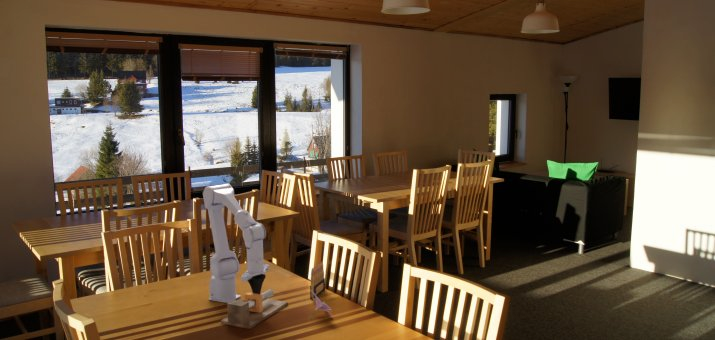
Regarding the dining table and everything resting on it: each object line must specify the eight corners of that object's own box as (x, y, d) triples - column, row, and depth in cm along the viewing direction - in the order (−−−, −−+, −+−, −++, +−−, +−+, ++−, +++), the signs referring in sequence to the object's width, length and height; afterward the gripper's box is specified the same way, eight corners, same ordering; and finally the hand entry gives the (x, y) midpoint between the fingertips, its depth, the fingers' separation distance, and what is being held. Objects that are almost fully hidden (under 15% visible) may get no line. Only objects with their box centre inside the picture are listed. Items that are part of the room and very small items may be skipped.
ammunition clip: (314, 299, 226) (313, 269, 225) (310, 298, 227) (309, 268, 225) (325, 290, 236) (324, 261, 235) (321, 289, 237) (320, 260, 235)
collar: (245, 310, 212) (244, 294, 212) (248, 308, 214) (248, 292, 213) (259, 312, 210) (258, 296, 209) (262, 310, 212) (262, 294, 211)
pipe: (238, 312, 206) (238, 305, 206) (268, 295, 222) (267, 288, 222) (245, 313, 205) (244, 306, 205) (273, 296, 221) (273, 289, 221)
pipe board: (221, 323, 205) (220, 302, 204) (260, 300, 226) (260, 281, 225) (249, 328, 200) (249, 307, 199) (287, 304, 221) (287, 285, 220)
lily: (330, 328, 202) (341, 301, 204) (298, 315, 202) (309, 288, 204) (328, 325, 214) (338, 300, 216) (298, 313, 213) (308, 288, 215)
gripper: (252, 265, 203) (254, 303, 205) (276, 254, 216) (277, 290, 218) (235, 262, 206) (237, 300, 208) (259, 251, 219) (261, 287, 221)
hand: (256, 295), depth 213 cm, fingers closed
